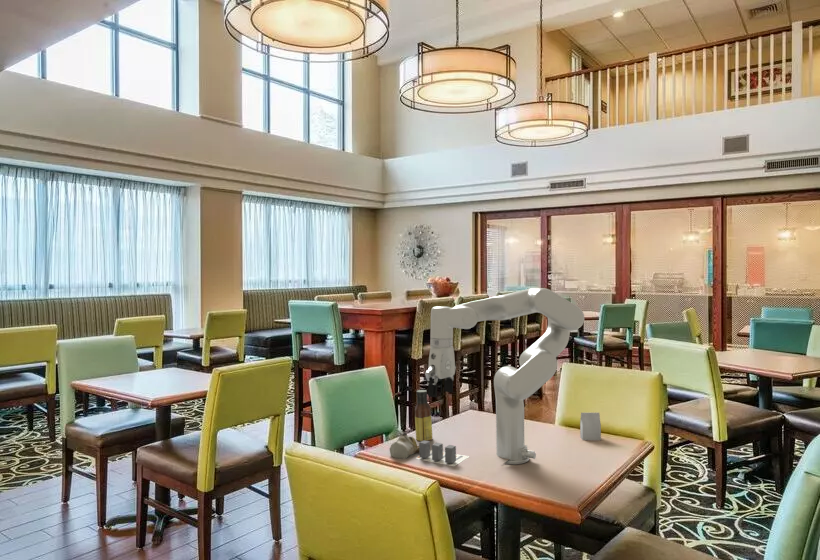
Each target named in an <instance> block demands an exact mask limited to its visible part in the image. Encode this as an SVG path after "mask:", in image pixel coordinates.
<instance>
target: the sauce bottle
mask: <svg viewBox="0 0 820 560" xmlns="http://www.w3.org/2000/svg"><path fill="white" fill-rule="evenodd" d="M416 399H417V400H416V405H415V406H414V423H415V440H416V441H418V442H422V441H424V440H425V441H430V442H431V441H433V426H432V425H433V423H432V421H433V420H432V411H431V408H432V407H430V405H429V403H428V402H429V401H428V390H426V389H418V390H416Z"/></svg>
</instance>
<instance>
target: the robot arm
mask: <svg viewBox="0 0 820 560" xmlns="http://www.w3.org/2000/svg"><path fill="white" fill-rule="evenodd" d="M535 313H538V314H542V315H543V316H544V317H546V318H547V328H546V331H545V332H544V333H543V334H542V335H540V337H539V338H538V339H537V340H536V341H535V342H533V343H532V344H531V345H530V346H528V347H527V348H526V349H525V350H523V352H522V353H521V354H520V356H519V359H518V363H519V366H520V367H519V368H516V367H514V366H511V365H510V366H509V365H507V366H502V367H500V368H499V369H498V370H497V371H496V373H495V374H494V376H493V388H494V395H495V423H496V424H495V427H496V429H495V433H496V434H495V435H496V436H495V439H496V440H495V441H496V443H495V444H496V448H495V449H496V456H497V457H499V458H502V459H505V460H506V459H507V460H506V461H505V462H503V464H505V465H521V464H526V463H527V462H529V461H530V459H533V460H535V459H536V457H537V454H536V451H535V450H529V449H528V445H525V403H524V400H526V399H528V398H530V397H531V396H532V395H534V393H536V392H537V391H538V390H539V389H540V388H542V386H544V385H545V384H546V383H547V382H549V381H550V379H552V378H553V376H554V375H555V373H556V371H557V369H558V360H557V358H558V356H559V355H560V354H561V353H562V352H563V351H564V350H565V349H566V347H567V345H568V343H569V340H570V335H571V331H576V330H578V329H579V328H581V327H582V326H583V325H584V322H585V314H584V312H583V310H582V308H581V307H579V306H578V305H576V304H574V303H573V302H571V301H569V300H567V299H566V298H565V297H562V296H561V295H559V294H557V293H556V292H554V291H553V290H551V289H549V288H545V287H530V288H526V289H523V290H518V291H513V292H510V293H504V294H500V295H497V296H496V295H495V296H492V297H488V298H484V299H483V298H482V299H478V300H473V301H472V300H471V301H469V302H465V303H461V304H457V305H455V306H453V307H450V306H443V305H441V306H440V305H439V306H438V305H437V306H433V307H432V308H431V310H430V335H429V336H430V345H429V346H430V347H429V349H430V350H429V355H428V356H429V357H428V366H427V367H428V369H427V370H426V371H425V373H424V375H425V380H426V382H427V383H426V384H427V385H428V387H427V389H428V390H427V397H430V398H431V397H432V398H437V397H438V384H437V383H438V380H442V379H444V380H443V382H444V383H443V385H444V388H443V391H444V393H453V392H454V380H455V378H454V377H455V375H456V369H457V366H456V361H455V350H454V346H453V345H454V341H453V340H454V339H453V338H454V328H455V329H462V330H463V329H464V330H470V329H471V328H474V327H475V326H476V325H477V323H478V322H484V321H507V320H511V319H514V318H518V317H523V316H526V315H531V314H535Z"/></svg>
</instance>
